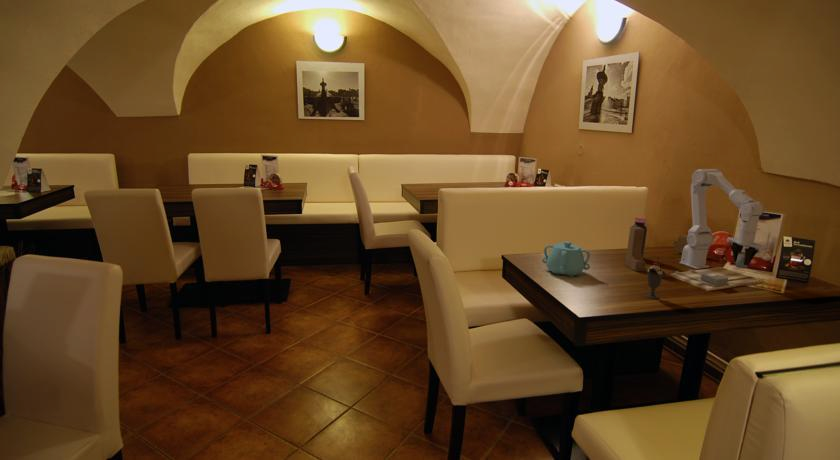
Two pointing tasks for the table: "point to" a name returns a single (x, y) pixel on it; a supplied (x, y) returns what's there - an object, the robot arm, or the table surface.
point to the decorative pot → (566, 259)
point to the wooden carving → (681, 243)
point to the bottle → (641, 222)
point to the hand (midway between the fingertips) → (741, 263)
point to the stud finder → (714, 279)
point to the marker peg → (741, 260)
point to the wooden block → (635, 249)
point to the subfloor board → (732, 276)
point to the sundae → (654, 279)
